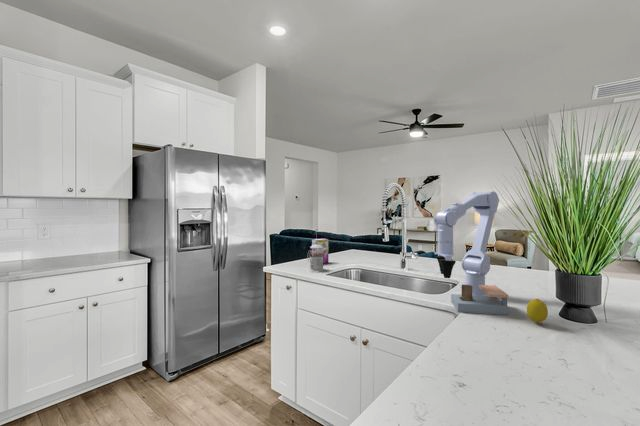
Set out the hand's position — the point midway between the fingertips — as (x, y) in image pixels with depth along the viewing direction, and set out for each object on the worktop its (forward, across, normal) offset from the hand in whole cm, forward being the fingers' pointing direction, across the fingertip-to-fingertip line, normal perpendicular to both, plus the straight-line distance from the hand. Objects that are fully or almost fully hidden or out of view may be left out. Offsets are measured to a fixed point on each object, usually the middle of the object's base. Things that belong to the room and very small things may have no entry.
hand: (445, 275), depth 123 cm
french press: (+10, -50, -65) cm, 83 cm away
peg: (+10, +7, +6) cm, 14 cm away
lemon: (+10, +20, +24) cm, 33 cm away
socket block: (+10, +7, +10) cm, 16 cm away
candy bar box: (+10, -72, -67) cm, 99 cm away
